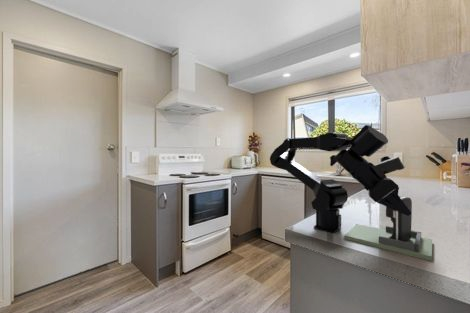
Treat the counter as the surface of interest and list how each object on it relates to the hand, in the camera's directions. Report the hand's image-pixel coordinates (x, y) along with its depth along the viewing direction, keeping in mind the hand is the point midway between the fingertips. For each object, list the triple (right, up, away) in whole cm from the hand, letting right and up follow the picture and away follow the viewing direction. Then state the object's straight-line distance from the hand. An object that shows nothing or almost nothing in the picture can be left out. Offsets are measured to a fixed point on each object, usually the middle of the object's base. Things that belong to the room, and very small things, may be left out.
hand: (405, 210), depth 56 cm
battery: (-1, -8, +1) cm, 8 cm away
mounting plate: (-3, -9, +3) cm, 10 cm away
